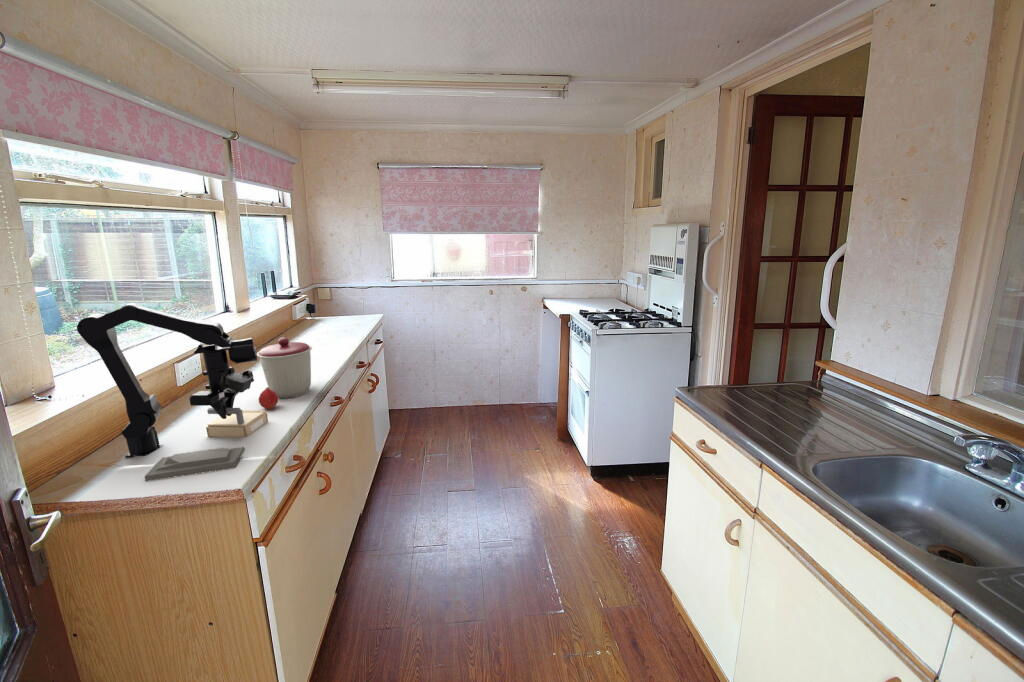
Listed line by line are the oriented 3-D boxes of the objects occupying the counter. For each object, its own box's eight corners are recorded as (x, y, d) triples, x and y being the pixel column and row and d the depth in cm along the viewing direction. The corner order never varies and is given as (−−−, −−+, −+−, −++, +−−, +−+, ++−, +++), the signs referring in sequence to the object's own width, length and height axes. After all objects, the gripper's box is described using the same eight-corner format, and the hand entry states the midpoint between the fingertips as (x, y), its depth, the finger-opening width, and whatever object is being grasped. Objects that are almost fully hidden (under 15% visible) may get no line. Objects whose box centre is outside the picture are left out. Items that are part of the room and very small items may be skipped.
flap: (245, 426, 141) (242, 409, 139) (207, 426, 142) (204, 409, 140) (266, 412, 151) (263, 396, 149) (231, 412, 152) (228, 396, 151)
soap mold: (163, 464, 129) (160, 451, 128) (246, 452, 133) (244, 441, 132) (145, 483, 119) (142, 470, 118) (235, 470, 124) (233, 458, 123)
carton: (247, 438, 141) (245, 427, 140) (208, 438, 142) (206, 427, 141) (268, 423, 152) (266, 412, 151) (232, 422, 153) (230, 412, 152)
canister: (252, 400, 172) (242, 343, 167) (286, 384, 189) (278, 331, 184) (296, 403, 167) (287, 344, 162) (327, 386, 184) (320, 332, 179)
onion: (258, 414, 159) (255, 391, 157) (262, 407, 165) (258, 385, 163) (278, 411, 161) (274, 388, 159) (281, 405, 166) (277, 383, 164)
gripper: (222, 376, 128) (232, 430, 132) (263, 356, 146) (271, 405, 150) (182, 376, 129) (193, 430, 133) (228, 357, 147) (237, 405, 151)
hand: (226, 417), depth 141 cm, fingers closed
